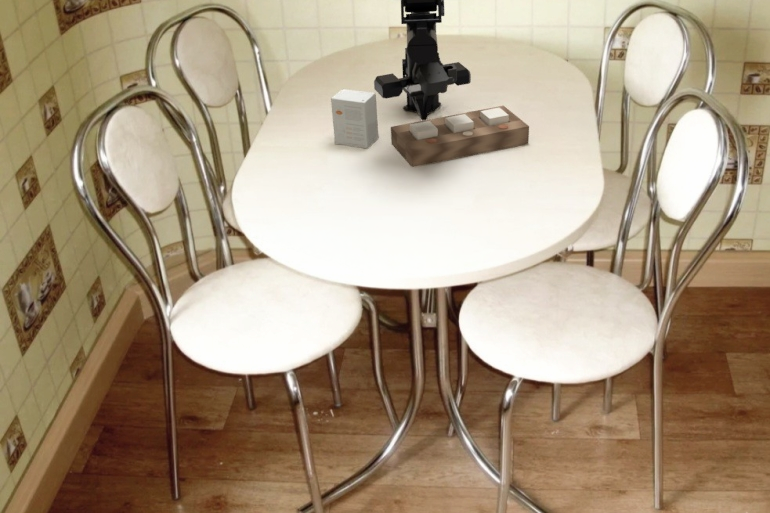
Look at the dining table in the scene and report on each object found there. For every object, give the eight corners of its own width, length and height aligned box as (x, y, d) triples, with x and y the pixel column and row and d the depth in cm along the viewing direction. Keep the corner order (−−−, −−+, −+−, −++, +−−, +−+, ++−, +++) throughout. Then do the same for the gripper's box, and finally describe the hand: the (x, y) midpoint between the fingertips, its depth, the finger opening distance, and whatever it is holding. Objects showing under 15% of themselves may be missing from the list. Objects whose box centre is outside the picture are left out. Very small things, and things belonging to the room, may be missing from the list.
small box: (379, 138, 204) (376, 92, 199) (368, 149, 200) (365, 102, 195) (345, 133, 207) (342, 88, 202) (334, 144, 203) (330, 97, 198)
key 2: (489, 132, 199) (489, 118, 197) (480, 124, 202) (480, 111, 201) (508, 128, 200) (508, 115, 199) (499, 120, 204) (499, 107, 202)
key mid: (453, 139, 197) (453, 125, 195) (445, 131, 200) (445, 117, 199) (473, 135, 198) (473, 121, 196) (464, 127, 201) (464, 114, 200)
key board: (412, 167, 192) (411, 148, 190) (391, 144, 202) (390, 125, 200) (528, 143, 199) (529, 125, 197) (502, 122, 209) (503, 104, 207)
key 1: (417, 146, 195) (417, 132, 193) (410, 137, 198) (409, 124, 197) (437, 142, 196) (437, 128, 194) (429, 134, 199) (429, 120, 198)
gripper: (391, 66, 177) (394, 143, 186) (482, 51, 182) (481, 126, 191) (371, 48, 186) (375, 122, 195) (459, 33, 191) (459, 106, 200)
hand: (423, 119), depth 195 cm, fingers closed
